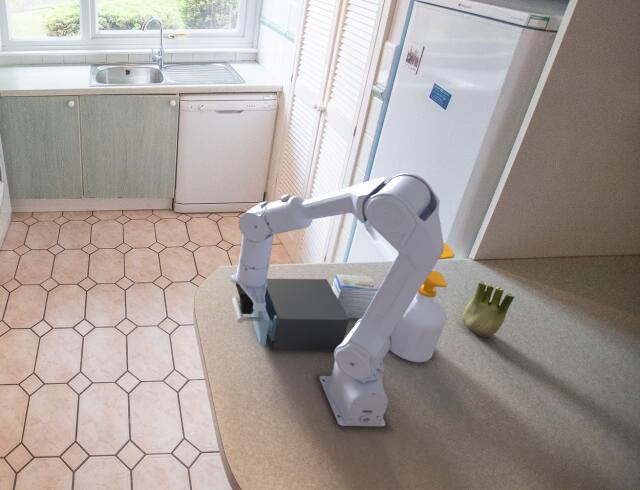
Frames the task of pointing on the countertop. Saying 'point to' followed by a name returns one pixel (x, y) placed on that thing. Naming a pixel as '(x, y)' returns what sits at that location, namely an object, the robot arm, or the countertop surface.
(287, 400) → the countertop surface
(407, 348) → the soap bottle
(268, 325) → the blue drawer
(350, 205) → the robot arm
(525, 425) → the countertop surface
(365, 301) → the medicine box
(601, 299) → the countertop surface
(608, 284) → the countertop surface
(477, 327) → the fennel bulb
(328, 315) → the dark grey drawer cabinet
